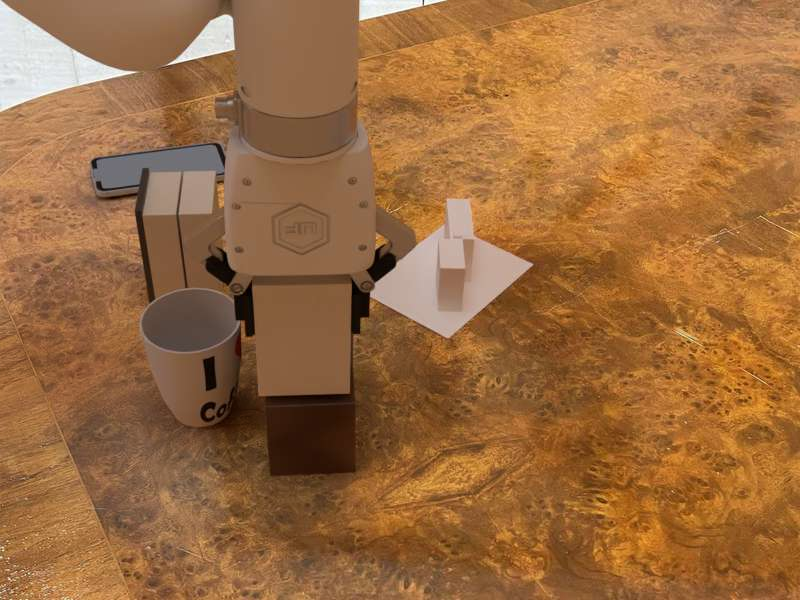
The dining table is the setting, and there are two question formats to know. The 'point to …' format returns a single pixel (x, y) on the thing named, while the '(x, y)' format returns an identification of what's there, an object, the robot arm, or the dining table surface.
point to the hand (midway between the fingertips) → (302, 322)
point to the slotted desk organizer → (174, 228)
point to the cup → (194, 353)
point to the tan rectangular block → (302, 334)
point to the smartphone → (153, 166)
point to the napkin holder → (449, 275)
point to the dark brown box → (311, 432)
